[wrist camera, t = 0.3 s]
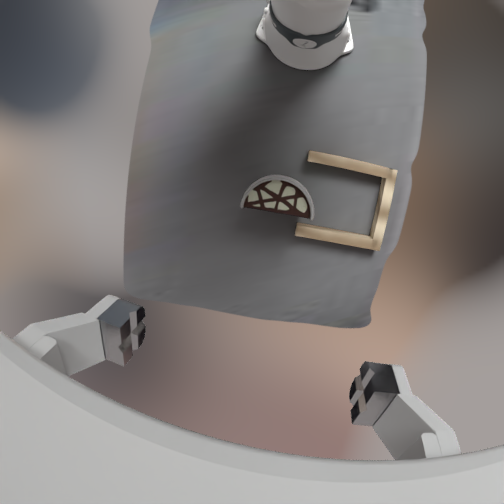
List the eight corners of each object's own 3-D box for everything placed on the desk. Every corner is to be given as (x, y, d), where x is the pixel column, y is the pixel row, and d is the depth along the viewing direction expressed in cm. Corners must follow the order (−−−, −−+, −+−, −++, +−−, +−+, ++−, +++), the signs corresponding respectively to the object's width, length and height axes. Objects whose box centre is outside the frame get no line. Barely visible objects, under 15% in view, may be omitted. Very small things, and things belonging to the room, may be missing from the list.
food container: (316, 178, 52) (322, 183, 43) (310, 209, 54) (314, 221, 45) (251, 167, 53) (243, 169, 43) (246, 198, 55) (237, 208, 46)
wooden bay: (308, 150, 50) (309, 150, 48) (392, 169, 49) (397, 170, 47) (295, 232, 56) (295, 235, 53) (375, 247, 55) (379, 251, 52)
